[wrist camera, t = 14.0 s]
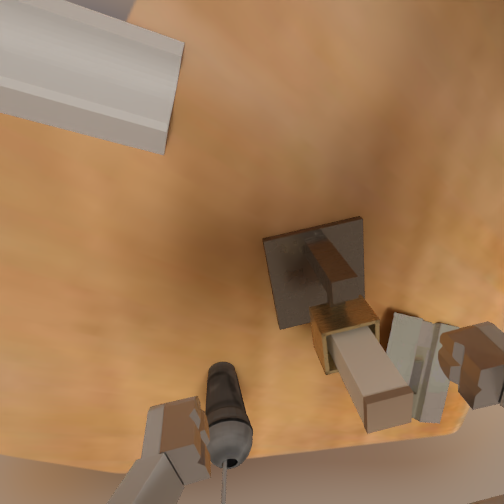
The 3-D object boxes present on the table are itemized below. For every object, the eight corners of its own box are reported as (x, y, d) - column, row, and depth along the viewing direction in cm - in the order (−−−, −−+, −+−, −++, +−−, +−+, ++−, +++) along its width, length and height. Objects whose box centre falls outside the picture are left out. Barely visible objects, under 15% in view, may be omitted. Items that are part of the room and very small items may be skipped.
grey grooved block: (347, 311, 62) (341, 412, 57) (394, 310, 53) (391, 428, 49) (413, 326, 70) (412, 415, 66) (462, 327, 62) (465, 430, 57)
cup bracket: (359, 216, 48) (411, 261, 36) (362, 305, 55) (405, 365, 44) (262, 238, 47) (283, 292, 36) (278, 325, 55) (300, 392, 43)
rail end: (356, 308, 43) (413, 392, 32) (357, 334, 46) (411, 422, 34) (321, 316, 43) (366, 404, 32) (324, 343, 45) (367, 433, 34)
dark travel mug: (241, 385, 60) (260, 515, 43) (199, 387, 59) (201, 522, 41) (244, 354, 57) (266, 481, 39) (200, 356, 55) (203, 488, 38)
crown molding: (184, 45, 36) (183, 42, 33) (163, 156, 41) (161, 164, 38) (-202, -91, 27) (-253, -111, 24) (-168, 70, 32) (-207, 70, 29)
